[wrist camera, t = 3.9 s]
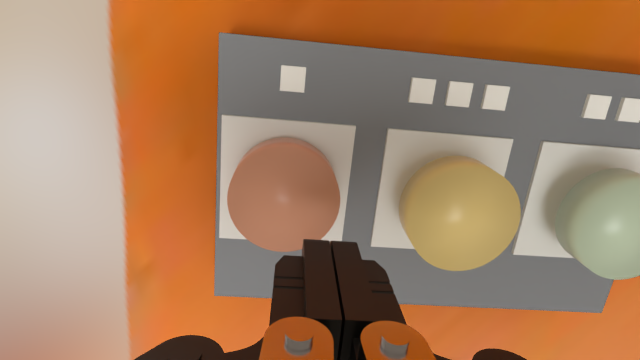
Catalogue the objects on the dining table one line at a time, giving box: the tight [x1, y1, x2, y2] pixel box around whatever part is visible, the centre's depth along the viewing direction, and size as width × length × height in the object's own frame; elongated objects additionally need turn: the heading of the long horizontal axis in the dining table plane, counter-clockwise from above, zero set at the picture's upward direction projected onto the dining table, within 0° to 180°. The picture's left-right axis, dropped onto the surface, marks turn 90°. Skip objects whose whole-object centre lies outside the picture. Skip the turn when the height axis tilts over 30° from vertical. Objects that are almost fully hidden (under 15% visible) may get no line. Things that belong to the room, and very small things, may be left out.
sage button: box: [555, 168, 640, 280], centre depth 17 cm, size 4×4×2 cm
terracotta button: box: [227, 137, 340, 252], centre depth 17 cm, size 4×4×2 cm
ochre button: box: [399, 156, 521, 271], centre depth 17 cm, size 4×4×2 cm
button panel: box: [214, 33, 640, 313], centre depth 20 cm, size 20×12×3 cm, turn 85°
